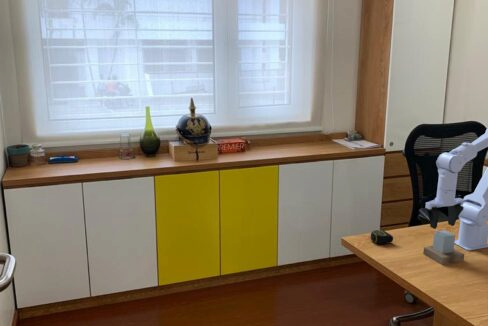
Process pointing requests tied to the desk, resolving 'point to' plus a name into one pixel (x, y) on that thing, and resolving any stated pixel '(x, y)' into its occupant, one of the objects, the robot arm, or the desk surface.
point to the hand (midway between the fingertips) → (442, 226)
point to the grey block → (443, 241)
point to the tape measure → (381, 237)
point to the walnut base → (443, 256)
